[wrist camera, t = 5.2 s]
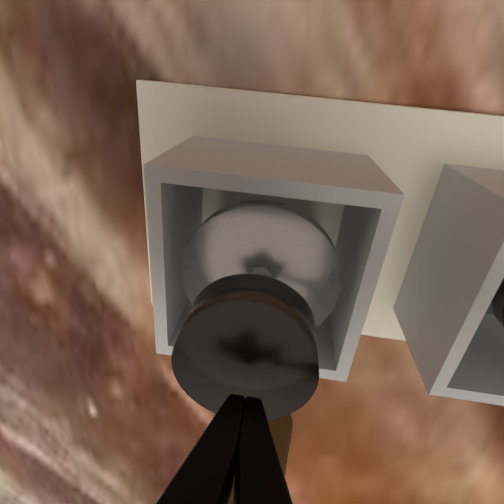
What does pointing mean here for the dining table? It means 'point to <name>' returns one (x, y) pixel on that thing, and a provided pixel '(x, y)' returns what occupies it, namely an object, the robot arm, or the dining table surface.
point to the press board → (344, 215)
